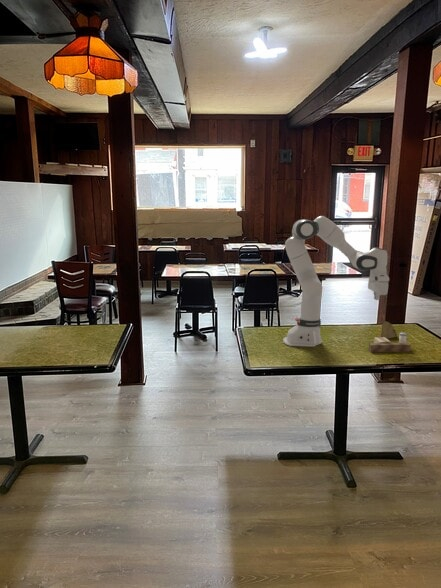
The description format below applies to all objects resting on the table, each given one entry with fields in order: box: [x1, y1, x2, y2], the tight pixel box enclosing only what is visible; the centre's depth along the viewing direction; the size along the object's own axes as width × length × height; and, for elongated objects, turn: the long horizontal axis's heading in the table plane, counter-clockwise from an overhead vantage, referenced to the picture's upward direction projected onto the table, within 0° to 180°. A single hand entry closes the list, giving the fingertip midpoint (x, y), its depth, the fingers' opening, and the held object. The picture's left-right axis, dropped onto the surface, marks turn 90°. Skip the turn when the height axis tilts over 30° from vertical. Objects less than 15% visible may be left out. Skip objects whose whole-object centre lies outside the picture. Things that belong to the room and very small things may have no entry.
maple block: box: [373, 336, 391, 343], centre depth 243 cm, size 6×8×5 cm
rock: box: [380, 320, 398, 340], centre depth 261 cm, size 11×9×10 cm
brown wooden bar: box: [368, 342, 412, 353], centre depth 238 cm, size 22×3×4 cm, turn 92°
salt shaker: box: [398, 331, 408, 343], centre depth 244 cm, size 4×4×8 cm
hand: (376, 299), depth 250 cm, fingers closed
